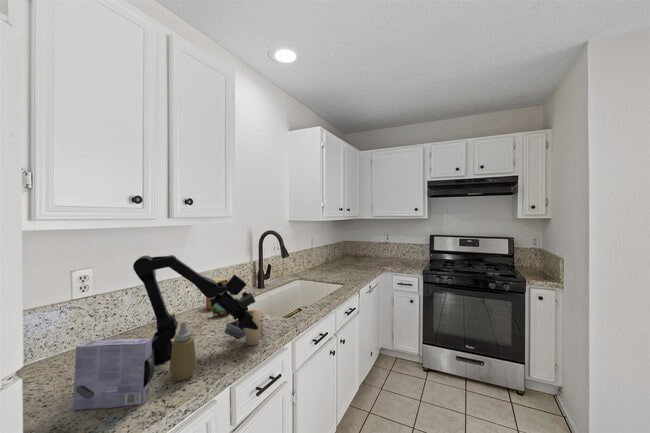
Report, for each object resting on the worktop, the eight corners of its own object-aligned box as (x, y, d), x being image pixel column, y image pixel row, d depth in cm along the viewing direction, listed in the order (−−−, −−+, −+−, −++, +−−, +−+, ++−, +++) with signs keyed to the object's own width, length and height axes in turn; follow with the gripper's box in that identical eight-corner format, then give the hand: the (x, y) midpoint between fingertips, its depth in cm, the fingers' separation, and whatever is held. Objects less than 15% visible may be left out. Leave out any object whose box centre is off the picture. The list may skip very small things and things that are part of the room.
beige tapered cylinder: (251, 346, 114) (251, 314, 114) (242, 342, 118) (242, 311, 118) (262, 341, 119) (262, 310, 119) (253, 337, 123) (254, 307, 122)
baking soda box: (214, 311, 155) (214, 282, 155) (206, 309, 158) (206, 281, 158) (227, 306, 163) (227, 278, 163) (219, 304, 166) (219, 277, 166)
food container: (217, 320, 142) (217, 300, 142) (210, 317, 146) (210, 298, 146) (237, 313, 152) (237, 294, 152) (231, 310, 156) (231, 292, 156)
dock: (239, 338, 122) (239, 330, 122) (224, 331, 129) (224, 323, 129) (259, 329, 131) (259, 322, 130) (244, 324, 137) (244, 317, 137)
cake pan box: (155, 393, 84) (155, 335, 84) (147, 405, 79) (147, 343, 79) (84, 400, 81) (83, 339, 81) (71, 412, 76) (71, 348, 76)
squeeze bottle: (178, 386, 88) (178, 329, 88) (164, 378, 92) (164, 324, 92) (201, 373, 95) (201, 321, 95) (187, 366, 99) (187, 316, 99)
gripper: (247, 294, 108) (275, 318, 113) (239, 283, 125) (264, 304, 130) (225, 317, 105) (255, 341, 110) (221, 303, 122) (246, 323, 126)
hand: (256, 325), depth 119 cm, fingers closed on beige tapered cylinder, 6 cm apart
